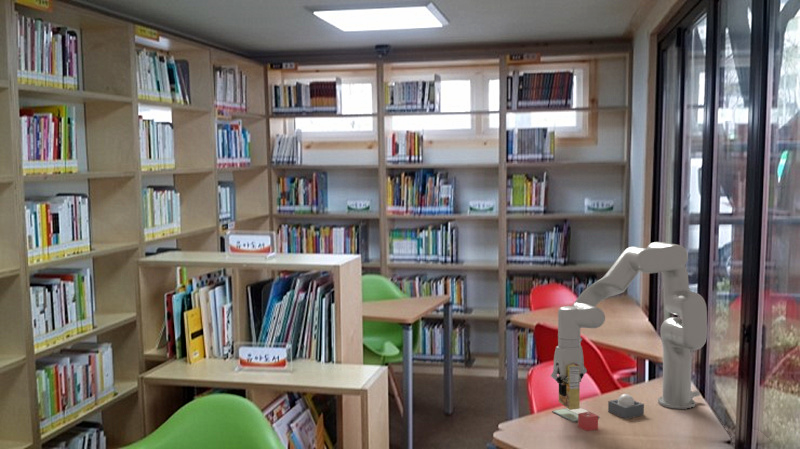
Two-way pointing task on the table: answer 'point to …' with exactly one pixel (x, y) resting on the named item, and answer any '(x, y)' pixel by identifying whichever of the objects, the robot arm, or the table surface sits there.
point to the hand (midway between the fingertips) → (569, 393)
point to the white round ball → (625, 400)
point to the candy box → (571, 388)
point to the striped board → (570, 413)
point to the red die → (588, 421)
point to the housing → (625, 409)
